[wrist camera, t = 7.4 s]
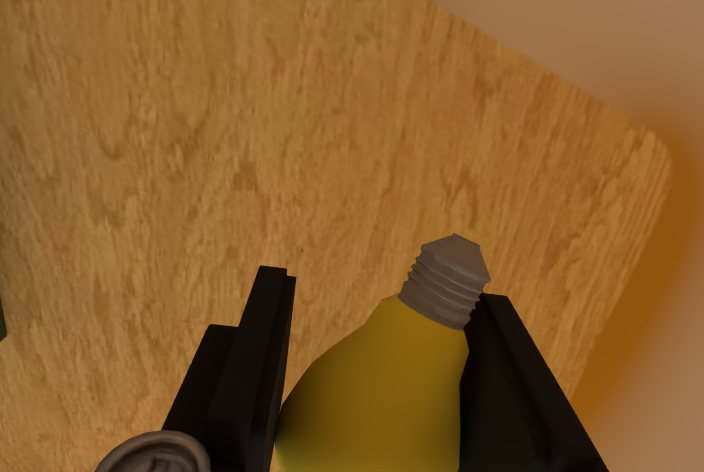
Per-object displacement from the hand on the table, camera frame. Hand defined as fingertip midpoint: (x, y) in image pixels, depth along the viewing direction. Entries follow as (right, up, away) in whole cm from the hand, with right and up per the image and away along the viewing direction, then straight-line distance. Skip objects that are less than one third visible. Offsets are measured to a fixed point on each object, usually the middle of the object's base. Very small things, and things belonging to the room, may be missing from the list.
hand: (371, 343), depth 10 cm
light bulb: (0, 0, +1) cm, 1 cm away
